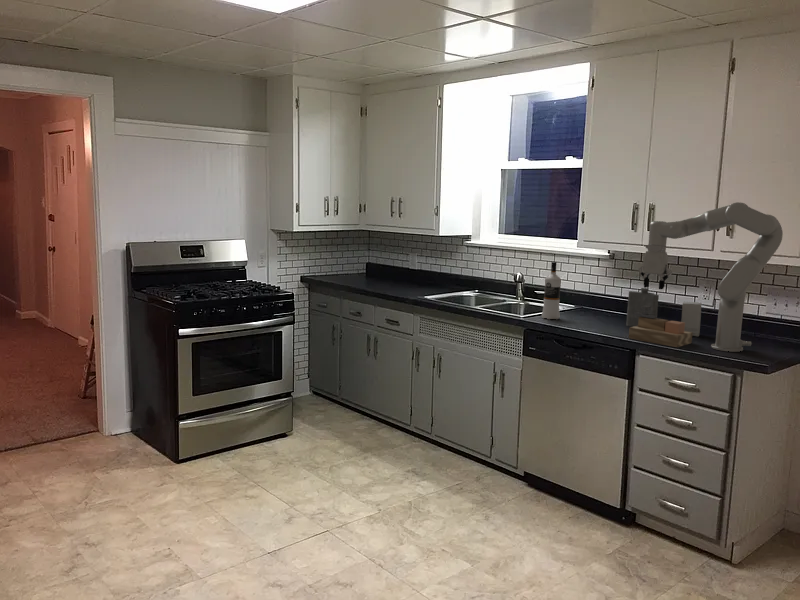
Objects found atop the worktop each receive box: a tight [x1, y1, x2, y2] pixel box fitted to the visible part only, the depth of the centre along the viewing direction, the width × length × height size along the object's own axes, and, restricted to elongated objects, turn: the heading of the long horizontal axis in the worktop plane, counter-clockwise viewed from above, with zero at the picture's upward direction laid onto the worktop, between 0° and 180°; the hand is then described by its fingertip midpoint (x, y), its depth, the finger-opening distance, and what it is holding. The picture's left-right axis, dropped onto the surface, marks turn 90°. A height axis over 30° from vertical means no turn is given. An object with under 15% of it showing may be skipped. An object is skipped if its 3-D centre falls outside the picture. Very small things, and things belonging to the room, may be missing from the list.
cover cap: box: [665, 320, 685, 334], centre depth 304 cm, size 6×6×4 cm
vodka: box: [541, 261, 562, 320], centre depth 358 cm, size 9×9×30 cm
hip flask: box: [625, 287, 660, 327], centre depth 339 cm, size 16×4×20 cm, turn 39°
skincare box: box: [681, 301, 702, 337], centre depth 324 cm, size 8×7×16 cm
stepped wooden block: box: [628, 317, 693, 348], centre depth 309 cm, size 14×23×10 cm, turn 42°
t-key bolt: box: [633, 306, 658, 319], centre depth 314 cm, size 6×10×5 cm, turn 42°
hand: (653, 287), depth 310 cm, fingers open, 6 cm apart
